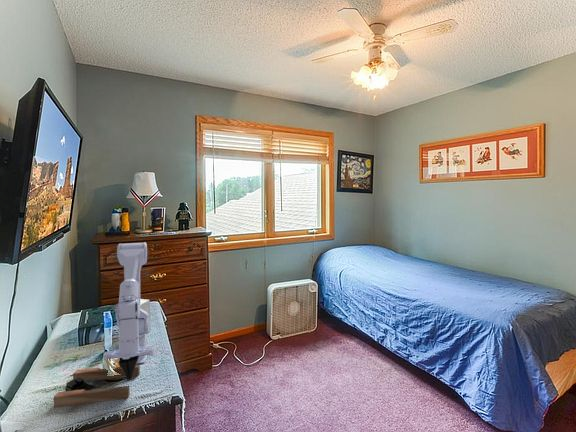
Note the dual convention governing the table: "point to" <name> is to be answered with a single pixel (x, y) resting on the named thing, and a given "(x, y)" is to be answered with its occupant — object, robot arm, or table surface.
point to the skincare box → (145, 308)
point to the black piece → (78, 385)
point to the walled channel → (94, 395)
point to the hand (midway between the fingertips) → (130, 378)
